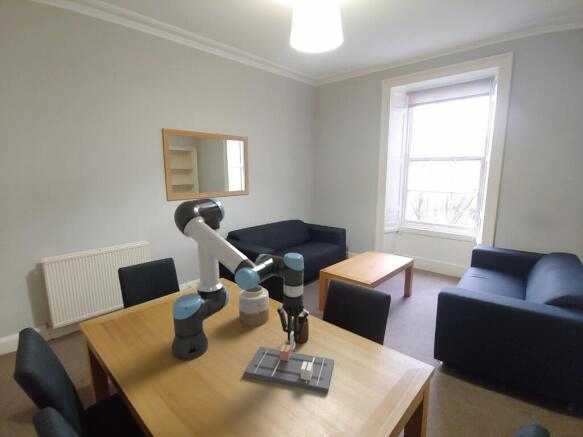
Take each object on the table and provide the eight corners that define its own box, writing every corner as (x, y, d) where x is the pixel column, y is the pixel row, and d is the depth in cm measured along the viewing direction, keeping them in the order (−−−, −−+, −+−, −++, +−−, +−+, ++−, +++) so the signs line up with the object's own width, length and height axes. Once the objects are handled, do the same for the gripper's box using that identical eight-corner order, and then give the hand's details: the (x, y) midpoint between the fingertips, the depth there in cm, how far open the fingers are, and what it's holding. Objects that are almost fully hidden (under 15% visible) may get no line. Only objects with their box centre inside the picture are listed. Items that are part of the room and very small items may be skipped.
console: (244, 376, 112) (244, 371, 111) (260, 350, 127) (260, 346, 126) (327, 393, 103) (327, 388, 102) (334, 364, 118) (334, 359, 118)
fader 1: (279, 359, 117) (279, 350, 117) (283, 352, 122) (283, 343, 121) (288, 361, 116) (288, 351, 116) (291, 354, 121) (291, 345, 120)
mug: (298, 351, 126) (298, 331, 125) (283, 345, 130) (283, 326, 128) (311, 337, 136) (311, 318, 134) (297, 332, 140) (297, 314, 138)
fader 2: (300, 378, 107) (300, 368, 106) (303, 370, 111) (303, 360, 110) (310, 380, 106) (310, 370, 105) (312, 372, 110) (313, 362, 109)
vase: (274, 316, 155) (274, 286, 152) (256, 329, 142) (255, 298, 139) (252, 308, 163) (251, 280, 160) (233, 321, 151) (231, 290, 147)
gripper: (274, 295, 111) (274, 350, 116) (307, 300, 107) (306, 356, 112) (280, 287, 118) (280, 339, 123) (311, 291, 115) (310, 345, 119)
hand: (292, 347), depth 117 cm, fingers closed
